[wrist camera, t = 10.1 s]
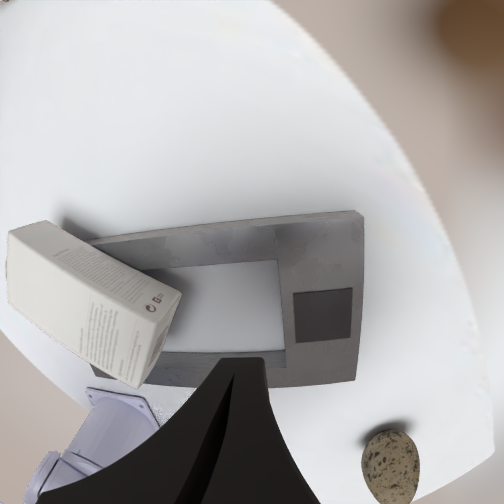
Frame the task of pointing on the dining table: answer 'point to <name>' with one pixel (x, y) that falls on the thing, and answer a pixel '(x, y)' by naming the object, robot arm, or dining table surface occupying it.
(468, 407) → the dining table surface
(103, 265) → the skincare box
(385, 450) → the decorative egg
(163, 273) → the dining table surface
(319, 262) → the plate
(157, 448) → the robot arm
